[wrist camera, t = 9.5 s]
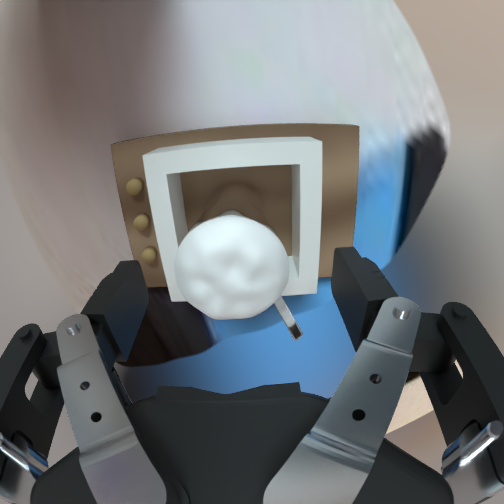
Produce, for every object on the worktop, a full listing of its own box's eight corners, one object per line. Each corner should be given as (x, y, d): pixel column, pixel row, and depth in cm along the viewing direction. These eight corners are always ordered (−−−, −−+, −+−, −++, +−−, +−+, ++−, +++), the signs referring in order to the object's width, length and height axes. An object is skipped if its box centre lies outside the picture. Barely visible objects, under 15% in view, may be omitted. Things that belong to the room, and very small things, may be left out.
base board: (117, 142, 17) (105, 146, 15) (352, 124, 17) (363, 126, 15) (146, 279, 22) (139, 293, 20) (344, 267, 22) (352, 280, 20)
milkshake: (255, 256, 20) (263, 370, 11) (188, 215, 19) (143, 314, 10) (295, 204, 18) (340, 297, 10) (226, 158, 17) (205, 213, 8)
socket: (158, 148, 16) (142, 155, 14) (309, 136, 16) (322, 141, 14) (179, 276, 21) (171, 301, 18) (307, 269, 21) (316, 293, 18)
